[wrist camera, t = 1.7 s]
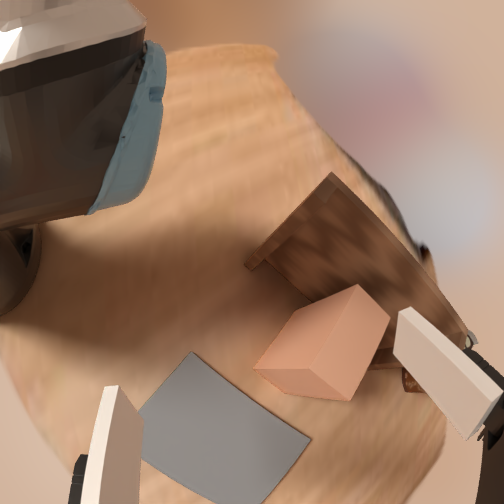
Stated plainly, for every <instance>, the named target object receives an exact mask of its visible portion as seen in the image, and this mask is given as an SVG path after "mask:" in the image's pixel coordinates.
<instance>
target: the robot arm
mask: <svg viewBox="0 0 504 504" xmlns="http://www.w3.org/2000/svg"><path fill="white" fill-rule="evenodd" d="M146 20H147V19H146V18H145V17H144V16H143V15H142V14H141V12H140V11H138V9H136V7H134V5H133V4H132V3H131V2H130V1H129V0H0V316H1V315H3V314H5V313H7V312H9V311H10V310H12V309H13V308H14V307H15V306H16V305H17V304H18V303H19V302H20V301H21V300H22V299H23V298H24V296H25V295H26V293H27V292H28V290H29V289H30V287H31V285H32V283H33V281H34V278H35V276H36V273H37V270H38V266H39V262H40V256H41V236H40V230H39V227H38V223H43V222H48V221H53V220H58V219H63V218H69V217H74V216H80V215H91V214H93V213H95V212H96V211H98V210H102V209H106V208H110V207H114V206H119V205H123V204H126V203H129V202H131V201H133V200H134V199H135V198H136V197H138V196H139V195H140V193H141V192H142V191H143V189H144V188H145V186H146V184H147V182H148V179H149V177H150V174H151V171H152V167H153V164H154V160H155V155H156V151H157V146H158V140H159V135H160V129H161V123H162V116H163V104H162V97H163V94H164V89H165V84H166V74H167V65H166V55H165V51H164V49H163V48H162V47H161V45H159V44H158V43H153V41H151V40H146V41H143V40H144V34H145V27H146ZM393 354H394V355H395V357H396V358H397V359H398V360H399V361H400V362H401V363H402V365H403V366H404V367H405V368H406V369H407V370H408V372H409V373H410V374H411V375H412V376H413V377H414V379H415V380H416V381H417V382H418V383H419V385H420V386H421V387H422V388H423V389H424V390H425V392H426V393H427V394H428V395H429V396H430V398H431V399H432V400H433V401H434V403H435V404H436V405H437V406H438V407H439V409H440V410H441V411H442V412H443V414H444V415H445V416H446V417H447V418H448V420H449V421H450V422H451V423H452V425H453V426H454V427H455V428H456V430H457V431H458V432H459V433H460V435H461V436H462V437H463V439H464V440H467V439H469V438H470V437H471V436H472V435H473V434H475V433H476V432H477V431H478V430H479V428H480V427H481V426H482V424H484V425H485V428H484V429H483V431H482V432H481V433H480V435H479V436H478V439H477V441H479V440H480V439H481V438H482V436H483V435H484V438H483V439H482V440H483V454H482V465H481V473H480V480H479V487H478V493H477V498H476V503H475V504H504V377H503V376H502V375H500V373H499V372H498V371H497V370H495V369H494V368H493V367H492V366H491V365H489V363H488V362H487V361H486V360H484V359H483V358H482V357H481V356H480V355H479V354H478V353H477V352H475V351H473V350H471V349H469V348H465V349H464V350H462V351H461V350H460V349H459V348H458V347H457V346H456V345H454V344H453V343H452V342H451V341H450V340H449V339H448V338H447V337H446V336H444V335H443V334H442V333H441V332H440V331H439V330H438V329H436V328H435V327H434V326H433V325H432V324H431V323H430V322H428V321H427V320H426V319H425V318H424V317H423V316H421V315H420V314H419V313H418V312H417V311H416V310H414V309H413V308H412V307H411V306H410V307H408V308H406V309H403V310H401V311H399V312H398V321H397V329H396V336H395V343H394V349H393ZM143 427H144V420H143V418H142V417H141V416H140V414H139V413H138V412H137V410H136V409H135V408H134V406H133V405H132V403H131V402H130V401H129V399H128V398H127V396H126V395H125V393H124V392H123V390H122V389H121V388H120V386H119V385H114V386H105V388H104V391H103V395H102V399H101V403H100V406H99V410H98V414H97V418H96V422H95V427H94V431H93V435H92V440H91V445H90V449H89V454H88V455H84V454H81V455H80V456H79V458H78V460H77V461H76V463H75V467H74V472H73V474H74V476H73V477H72V484H71V488H70V494H69V501H68V504H139V487H140V466H141V451H142V438H143Z"/></svg>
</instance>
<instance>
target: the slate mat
mask: <svg viewBox="0 0 504 504" xmlns="http://www.w3.org/2000/svg"><path fill="white" fill-rule="evenodd" d="M138 413H139V414H140V416H141V417H142V418H143V420H144V427H143V438H142V451H141V458H142V459H143V460H144V461H146V462H147V463H149V464H150V465H151V466H153V467H154V468H156V469H157V470H159V471H160V472H162V473H163V474H165V475H167V476H168V477H170V478H171V479H173V480H175V481H176V482H178V483H180V484H181V485H183V486H185V487H186V488H188V489H190V490H192V491H193V492H195V493H197V494H199V495H201V496H203V497H204V498H206V499H208V500H210V501H212V502H214V503H216V504H261V503H262V501H263V500H264V499H265V498H266V497H267V496H268V495H269V493H270V492H271V491H272V490H273V489H274V488H275V486H276V485H277V484H278V483H279V481H280V480H281V479H282V478H283V476H284V475H285V474H286V473H287V471H288V470H289V469H290V468H291V466H292V465H293V464H294V462H295V461H296V460H297V458H298V457H299V456H300V454H301V453H302V451H303V450H304V449H305V447H306V446H307V444H308V443H309V442H310V440H311V439H309V438H308V437H306V436H304V435H303V434H301V433H300V432H298V431H296V430H295V429H293V428H292V427H290V426H289V425H287V424H286V423H284V422H283V421H281V420H280V419H278V418H277V417H275V416H274V415H272V414H271V413H270V412H268V411H267V410H265V409H264V408H262V407H261V406H260V405H258V404H257V403H256V402H254V401H253V400H251V399H250V398H249V397H247V396H246V395H245V394H243V393H242V392H241V391H239V390H238V389H237V388H235V387H234V386H233V385H232V384H230V383H229V382H228V381H226V380H225V379H224V378H223V377H221V376H220V375H219V374H218V373H216V372H215V371H214V370H213V369H211V368H210V367H209V366H208V365H207V364H205V363H204V362H203V361H202V360H201V359H199V358H198V357H197V356H196V355H195V354H194V353H192V352H190V353H189V354H188V355H187V357H186V358H185V359H184V360H183V361H182V362H181V363H180V365H179V366H178V367H177V368H176V369H175V370H174V371H173V373H172V374H171V375H170V376H169V377H168V378H167V379H166V380H165V382H164V383H163V384H162V385H161V386H160V387H159V388H158V389H157V391H156V392H155V393H154V394H153V395H152V396H151V397H150V398H149V400H148V401H147V402H146V403H145V404H144V405H143V406H142V407H141V408H140V410H139V411H138Z"/></svg>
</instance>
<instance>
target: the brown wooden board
mask: <svg viewBox="0 0 504 504" xmlns="http://www.w3.org/2000/svg"><path fill="white" fill-rule="evenodd" d="M264 259H265V260H266V261H267V262H269V263H270V264H271V265H272V266H273V267H274V268H275V269H276V270H277V271H278V272H279V273H281V274H282V275H283V276H284V277H285V278H286V279H287V280H288V281H289V282H290V283H291V284H293V285H294V286H295V287H296V288H297V289H298V290H299V291H300V292H301V293H302V294H303V295H305V296H306V297H307V298H308V299H309V300H310V301H311V302H312V303H315V302H317V301H320V300H322V299H324V298H327V297H329V296H331V295H334V294H336V293H338V292H341V291H343V290H345V289H347V288H350V287H352V286H354V285H356V284H358V285H359V286H360V287H361V288H362V289H363V290H364V291H365V292H366V293H367V294H368V295H369V296H370V297H371V298H372V299H373V300H374V301H375V302H376V303H377V304H378V305H379V306H380V307H381V308H382V309H383V310H384V311H385V312H386V313H387V314H388V315H389V316H390V317H391V318H390V320H389V323H388V325H387V328H386V330H385V332H384V334H383V337H382V339H381V341H380V343H379V345H378V348H377V350H376V352H375V354H374V356H373V358H372V360H371V362H370V364H369V366H368V368H367V370H377V369H388V368H398V367H404V366H403V365H402V363H401V362H400V361H399V360H398V359H397V358H396V357H395V355H394V354H393V349H394V343H395V336H396V329H397V321H398V312H399V311H401V310H403V309H406V308H408V307H410V306H411V307H412V308H413V309H414V310H416V311H417V312H418V313H419V314H420V315H421V316H423V317H424V318H425V319H426V320H427V321H428V322H430V323H431V324H432V325H433V326H434V327H435V328H436V329H438V330H439V331H440V332H441V333H442V334H443V335H444V336H446V337H447V338H448V339H449V340H450V341H451V342H452V343H453V344H454V345H456V346H457V347H458V348H459V349H460V350H461V351H462V350H464V348H465V343H466V339H467V334H468V329H467V327H466V326H465V324H464V323H463V321H462V320H461V318H460V317H459V316H458V314H457V313H456V311H455V310H454V309H453V307H452V306H451V304H450V303H449V302H448V300H447V299H446V298H445V296H444V295H443V294H442V293H441V291H440V290H439V288H438V287H437V286H436V284H435V283H434V282H433V281H432V279H431V278H430V277H429V276H428V274H427V273H426V272H425V271H424V269H423V268H422V267H421V266H420V264H419V263H418V262H417V261H416V260H415V258H414V257H413V256H412V255H411V254H410V253H409V251H408V250H407V249H406V248H405V247H404V246H403V244H402V243H401V242H400V241H399V240H398V239H397V238H396V237H395V235H394V234H393V233H392V232H391V231H390V230H389V229H388V228H387V227H386V226H385V224H384V223H383V222H382V221H381V220H380V219H379V218H378V217H377V216H376V215H375V214H374V213H373V212H372V211H371V210H370V209H369V208H368V207H367V206H366V205H365V204H364V203H363V202H362V201H361V200H360V199H359V198H358V197H357V196H356V195H355V194H354V193H353V192H352V191H351V190H350V189H349V188H348V187H347V186H346V185H345V184H344V183H343V182H342V181H341V180H340V179H339V178H338V177H337V176H336V175H335V174H334V173H333V172H330V173H329V175H328V176H327V177H326V178H325V179H324V180H323V181H322V182H321V183H320V184H319V185H318V186H317V187H316V188H315V189H314V190H313V191H312V192H311V193H310V194H309V195H308V197H307V198H306V199H305V200H304V201H303V202H302V203H301V204H300V205H299V206H298V207H297V208H296V209H295V210H294V211H293V212H292V213H291V214H290V215H289V216H288V217H287V218H286V220H285V221H284V222H283V223H282V224H281V225H280V226H279V227H278V228H277V229H276V230H275V231H274V232H273V233H272V234H271V235H270V236H269V237H268V238H267V239H266V240H265V241H264V242H263V244H262V245H261V246H260V247H259V248H258V249H257V250H256V251H255V252H254V253H253V255H252V256H251V257H250V258H249V259H248V260H247V261H246V262H245V263H244V265H245V266H246V267H247V268H248V269H250V270H251V271H252V270H253V269H254V268H255V267H256V266H257V265H258V264H260V263H261V262H262V261H263V260H264Z"/></svg>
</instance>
